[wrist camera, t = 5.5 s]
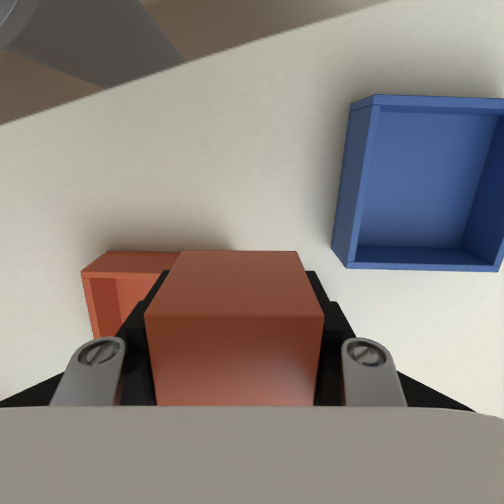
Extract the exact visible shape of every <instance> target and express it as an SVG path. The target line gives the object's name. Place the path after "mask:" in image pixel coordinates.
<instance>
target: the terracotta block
mask: <svg viewBox="0 0 504 504" xmlns="http://www.w3.org/2000/svg"><path fill="white" fill-rule="evenodd" d="M144 320H145V327H146V334H147V341H148V347H149V354H150V361H151V368H152V375H153V381H154V388H155V395H156V402H157V406H313V405H314V397H315V389H316V380H317V372H318V364H319V356H320V348H321V340H322V332H323V324H324V314H323V311H322V309H321V307H320V304H319V302H318V300H317V298H316V295H315V293H314V291H313V288H312V286H311V284H310V281H309V279H308V277H307V274H306V272H305V270H304V268H303V265H302V263H301V261H300V258H299V256H298V254H297V252H296V251H227V250H183V251H182V253H181V254H180V256H179V258H178V259H177V261H176V263H175V264H174V266H173V267H172V269H171V271H170V272H169V274H168V276H167V277H166V279H165V281H164V282H163V284H162V285H161V287H160V289H159V290H158V292H157V294H156V295H155V297H154V299H153V300H152V302H151V304H150V305H149V307H148V308H147V310H146V312H145V313H144Z"/></svg>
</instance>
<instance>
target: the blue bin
mask: <svg viewBox="0 0 504 504" xmlns="http://www.w3.org/2000/svg"><path fill="white" fill-rule="evenodd" d="M331 249H332V251H333V252H334V253H335V255H336V256H337V257H338V259H339V260H340V261H341V262H342V264H343V265H344V266H345V268H350V269H388V270H427V271H466V272H498V271H499V268H500V266H499V265H501V263H502V260H503V258H504V99H502V98H472V97H443V96H414V95H384V94H374V95H371V96H369V97H366V98H364V99H361V100H359V101H357V102H354V103H352V104H351V105H350V112H349V119H348V127H347V134H346V141H345V149H344V156H343V163H342V171H341V178H340V185H339V193H338V200H337V207H336V214H335V222H334V229H333V236H332V244H331Z"/></svg>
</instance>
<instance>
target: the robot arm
mask: <svg viewBox="0 0 504 504" xmlns="http://www.w3.org/2000/svg"><path fill="white" fill-rule="evenodd" d="M170 271H171V270H163V271H162V273H161V274H160V276H159V277H158V279H157V280H156V282H155V283H154V285H153V286H152V288H151V289H150V291H149V292H148V294H147V295H146V297H145V298H144V300H140V301H139V302H138V303H137V304H136V306H135V307H134V309H133V310H132V311H131V313H130V314H129V316H128V317H127V319H126V320H125V322H124V323H123V324H122V326H121V327H120V329H119V330H118V332H117V333H116V335H115V336H114V337H113V336H108V337H101V338H97V339H94V340H91V341H89V342H87V343H85V344H84V345H82V346H81V347H80V348H78V349H77V350H76V351H75V353H74V354H73V355H72V357H71V359H70V362H69V364H68V366H67V368H66V370H65V372H62V373H60V374H58V375H56V376H54V377H52V378H49V379H47V380H45V381H43V382H41V383H39V384H37V385H34V386H32V387H30V388H28V389H26V390H24V391H22V392H19V393H17V394H15V395H13V396H11V397H9V398H7V399H4V400H2V401H0V504H504V419H502V418H499V417H495V416H490V415H485V414H480V413H477V412H475V411H474V410H472V409H470V408H469V407H467V406H465V405H463V404H461V403H459V402H457V401H455V400H453V399H451V398H449V397H447V396H445V395H443V394H441V393H440V392H438V391H436V390H434V389H432V388H430V387H428V386H426V385H424V384H422V383H420V382H418V381H416V380H414V379H412V378H410V377H408V376H406V375H404V374H402V373H400V372H398V371H396V368H395V365H394V362H393V358H392V356H391V354H390V352H389V351H388V350H387V349H386V348H385V347H384V346H382V345H381V344H379V343H377V342H375V341H373V340H370V339H366V338H358V337H356V335H355V334H354V332H353V330H352V328H351V326H350V324H349V323H348V321H347V319H346V317H345V315H344V313H343V312H342V310H341V308H340V306H339V304H338V303H337V302H335V301H330V300H329V299H328V297H327V295H326V293H325V291H324V289H323V287H322V285H321V283H320V281H319V279H318V277H317V275H316V273H315V271H305V272H306V274H307V277H308V279H309V281H310V284H311V286H312V288H313V291H314V293H315V295H316V298H317V300H318V302H319V304H320V307H321V309H322V311H323V314H324V324H323V332H322V340H321V348H320V356H319V364H318V372H317V380H316V389H315V397H314V405H313V406H157V402H156V395H155V388H154V381H153V375H152V368H151V361H150V354H149V347H148V341H147V334H146V327H145V320H144V313H145V312H146V310H147V308H148V307H149V305H150V304H151V302H152V300H153V299H154V297H155V295H156V294H157V292H158V290H159V289H160V287H161V285H162V284H163V282H164V281H165V279H166V277H167V276H168V274H169V272H170Z"/></svg>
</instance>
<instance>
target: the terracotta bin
mask: <svg viewBox="0 0 504 504" xmlns="http://www.w3.org/2000/svg"><path fill="white" fill-rule="evenodd" d="M180 254H181V253H168V252H130V251H107V252H106V253H104V254H103V255H102V256H100V257H99V258H98V259H96V260H95V261H94V262H92V263H91V264H90V265H88V266H87V267H86V268H84V269H83V270H82V271H81V276H82V282H83V287H84V292H85V297H86V302H87V306H88V311H89V316H90V321H91V326H92V331H93V336H94V339H97V338H101V337H108V336H113V337H114V336H115V335H116V333H117V332H118V330H119V329H120V327H121V326H122V324H123V323H124V322H125V320H126V319H127V317H128V316H129V314H130V313H131V311H132V310H133V309H134V307H135V306H136V304H137V303H138V302H139V301H140V300H144V298H145V297H146V295H147V294H148V292H149V291H150V289H151V288H152V286H153V285H154V283H155V282H156V280H157V279H158V277H159V276H160V274H161V273H162V271H163V270H171V269H172V267H173V266H174V264H175V263H176V261H177V259H178V258H179V256H180Z"/></svg>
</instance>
